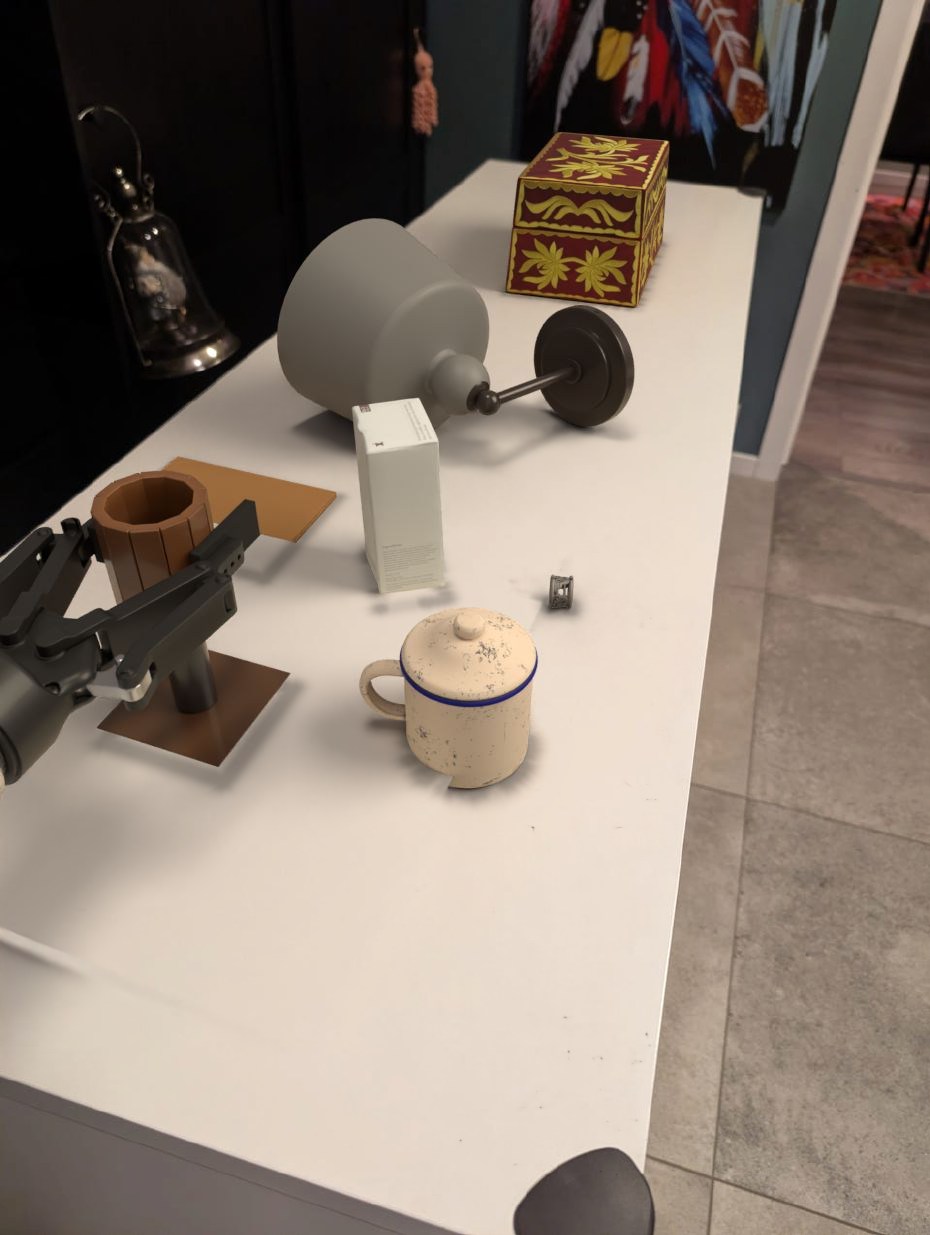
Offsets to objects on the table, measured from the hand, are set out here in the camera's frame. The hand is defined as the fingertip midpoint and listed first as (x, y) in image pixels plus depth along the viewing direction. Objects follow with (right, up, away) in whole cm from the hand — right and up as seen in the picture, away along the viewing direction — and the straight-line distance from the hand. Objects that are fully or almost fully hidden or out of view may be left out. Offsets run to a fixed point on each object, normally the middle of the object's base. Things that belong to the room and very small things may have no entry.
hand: (203, 505), depth 65 cm
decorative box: (+36, +44, +78) cm, 96 cm away
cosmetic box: (+12, -4, +19) cm, 23 cm away
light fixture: (+16, +12, +39) cm, 44 cm away
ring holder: (-2, -15, +6) cm, 16 cm away
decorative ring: (+26, -7, +16) cm, 31 cm away
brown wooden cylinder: (-2, -7, 0) cm, 7 cm away
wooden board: (-6, +2, +26) cm, 27 cm away
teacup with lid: (+16, -17, +4) cm, 24 cm away
